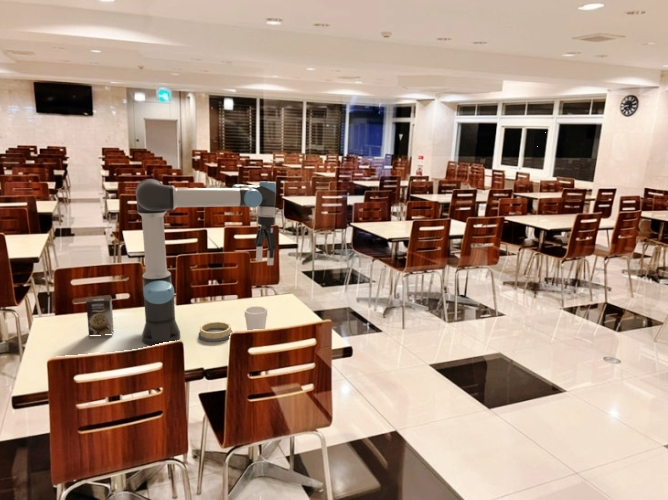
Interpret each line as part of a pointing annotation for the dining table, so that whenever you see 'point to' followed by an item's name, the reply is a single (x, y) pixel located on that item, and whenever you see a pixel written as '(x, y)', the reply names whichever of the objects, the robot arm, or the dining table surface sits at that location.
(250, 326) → the foam cup
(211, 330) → the collar seat
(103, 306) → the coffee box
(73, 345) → the dining table surface
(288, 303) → the dining table surface
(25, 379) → the dining table surface
